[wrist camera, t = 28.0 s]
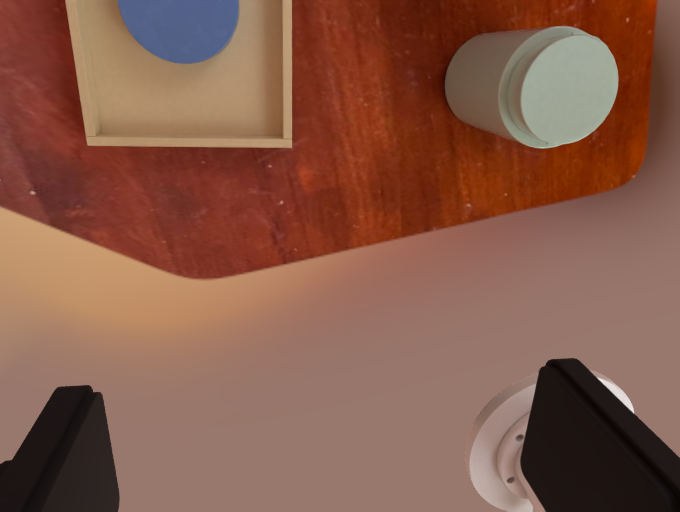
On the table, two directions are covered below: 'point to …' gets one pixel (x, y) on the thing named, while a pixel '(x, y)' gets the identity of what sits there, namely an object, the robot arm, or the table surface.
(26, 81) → the table surface
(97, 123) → the tray
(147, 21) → the lid
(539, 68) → the jam jar
